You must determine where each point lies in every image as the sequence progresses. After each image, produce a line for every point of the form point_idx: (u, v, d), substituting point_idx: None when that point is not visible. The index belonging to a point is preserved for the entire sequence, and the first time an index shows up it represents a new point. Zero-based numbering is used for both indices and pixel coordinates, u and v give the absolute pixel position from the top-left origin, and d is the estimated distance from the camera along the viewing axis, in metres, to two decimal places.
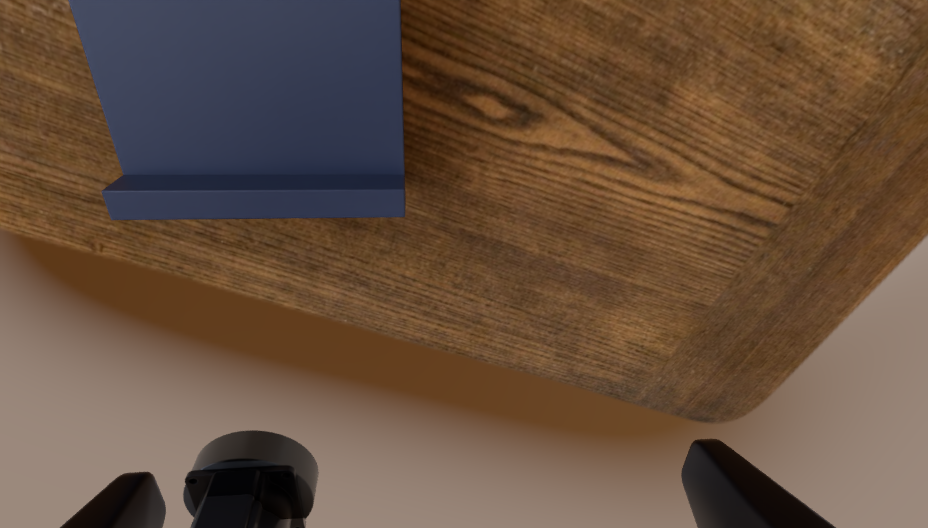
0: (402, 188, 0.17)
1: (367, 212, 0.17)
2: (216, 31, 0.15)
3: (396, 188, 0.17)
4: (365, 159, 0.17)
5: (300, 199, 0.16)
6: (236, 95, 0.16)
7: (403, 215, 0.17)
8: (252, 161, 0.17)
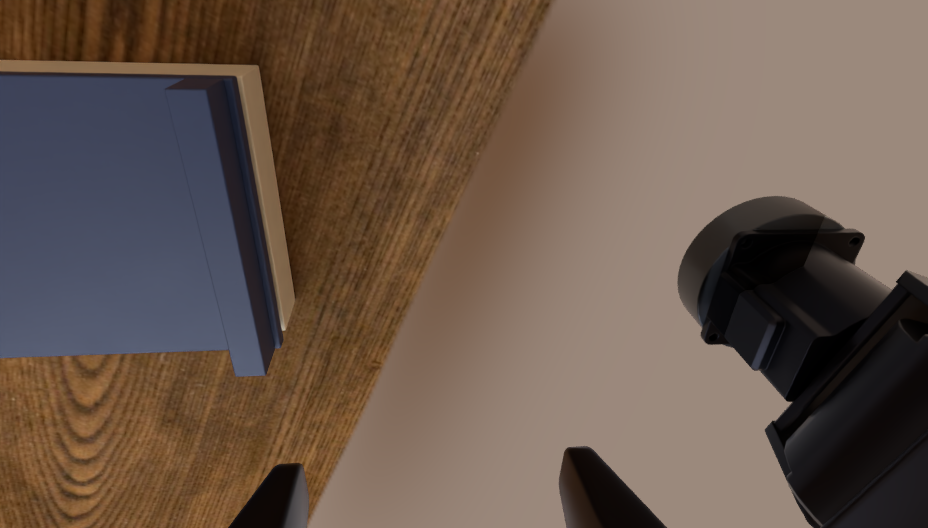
0: (164, 91, 0.12)
1: (209, 138, 0.13)
2: (75, 257, 0.16)
3: (167, 98, 0.12)
4: None
5: (207, 214, 0.14)
6: (136, 250, 0.16)
7: (203, 91, 0.12)
8: None
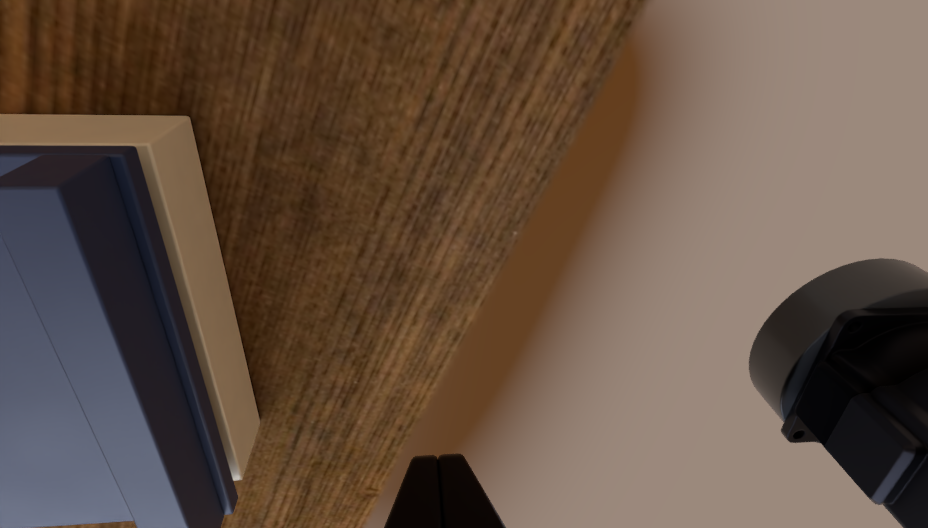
0: None
1: (73, 265, 0.07)
2: None
3: None
4: None
5: (86, 375, 0.08)
6: None
7: (51, 191, 0.07)
8: None
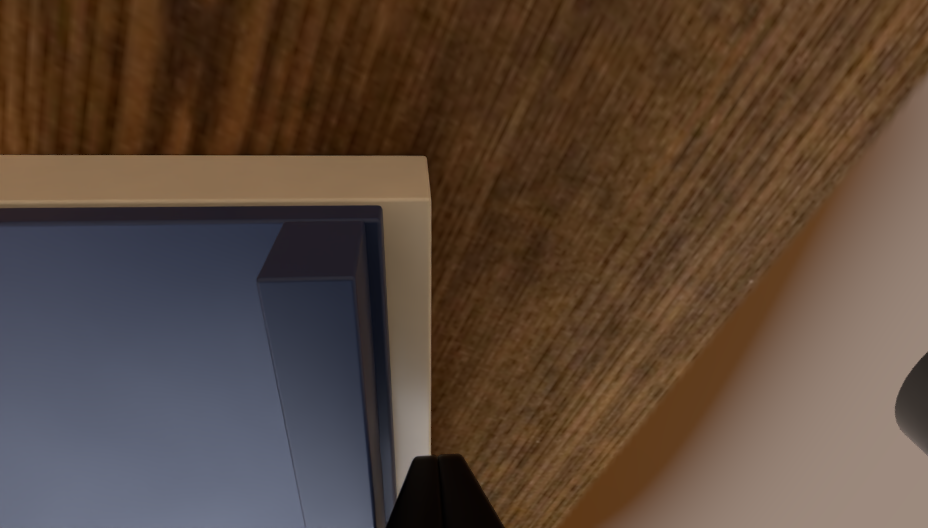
0: (255, 281, 0.05)
1: (345, 369, 0.06)
2: (58, 514, 0.09)
3: (260, 295, 0.05)
4: (256, 307, 0.07)
5: (322, 490, 0.07)
6: (169, 498, 0.09)
7: (346, 282, 0.05)
8: (297, 485, 0.09)
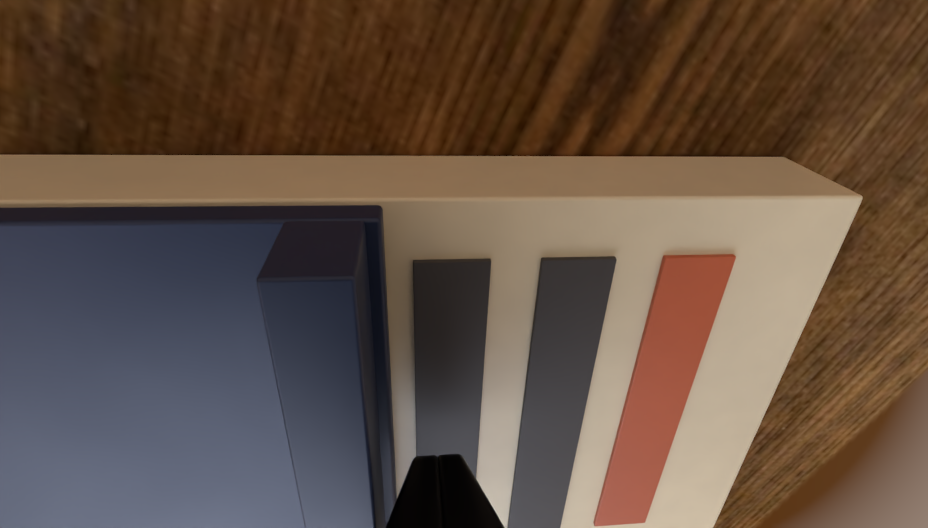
0: (256, 281, 0.05)
1: (346, 368, 0.06)
2: (58, 514, 0.09)
3: (261, 295, 0.05)
4: (256, 307, 0.07)
5: (321, 490, 0.07)
6: (169, 498, 0.09)
7: (347, 282, 0.05)
8: (297, 485, 0.09)
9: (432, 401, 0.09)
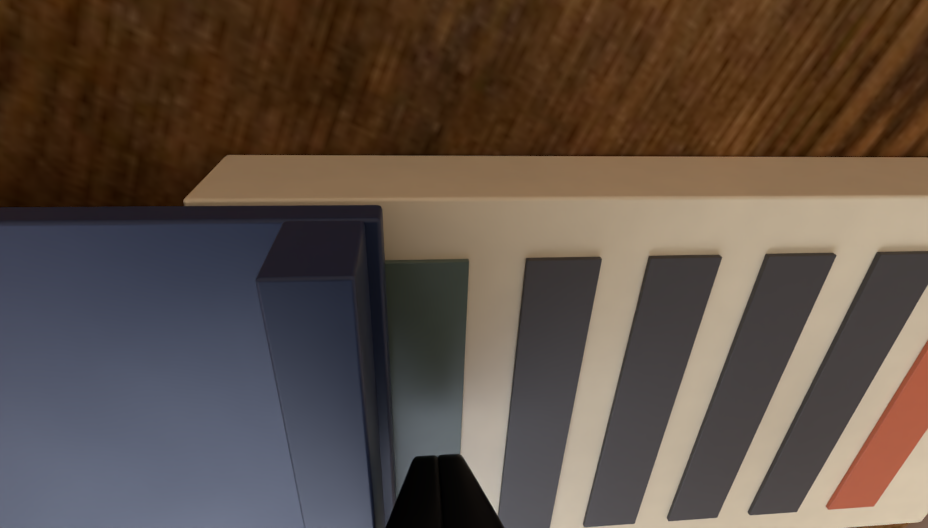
0: (255, 281, 0.05)
1: (345, 369, 0.06)
2: (57, 514, 0.09)
3: (260, 295, 0.05)
4: (255, 307, 0.07)
5: (321, 490, 0.07)
6: (168, 498, 0.09)
7: (346, 282, 0.05)
8: None
9: (729, 388, 0.10)
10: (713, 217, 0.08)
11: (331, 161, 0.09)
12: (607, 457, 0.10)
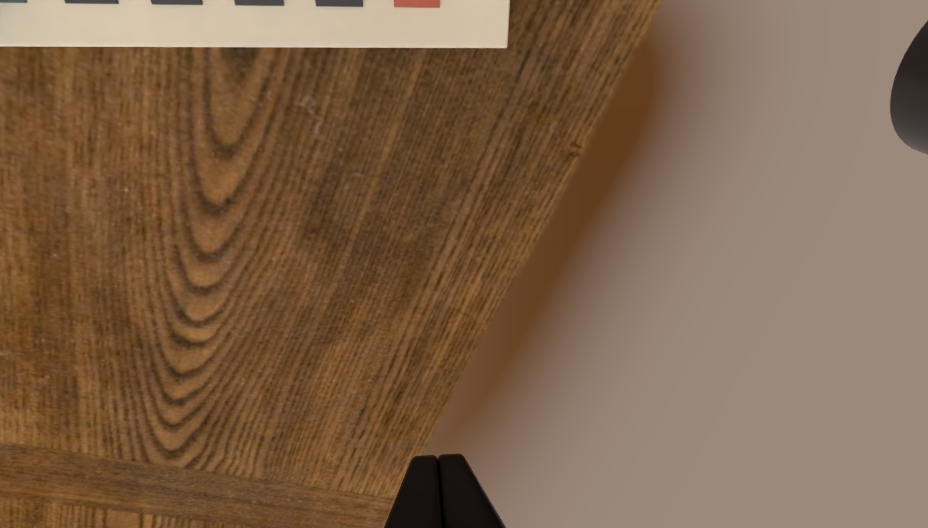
0: None
1: None
2: None
3: None
4: None
5: None
6: None
7: None
8: None
9: None
10: None
11: None
12: None
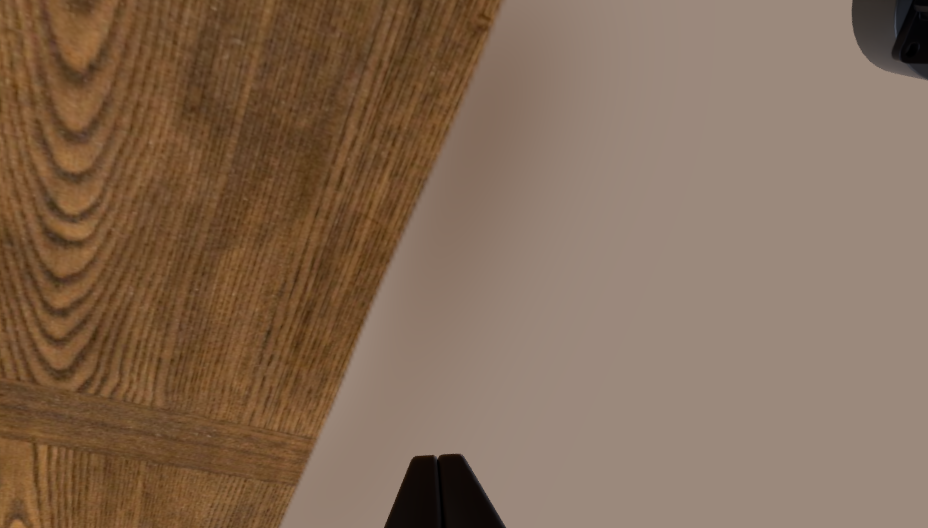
0: None
1: None
2: None
3: None
4: None
5: None
6: None
7: None
8: None
9: None
10: None
11: None
12: None
